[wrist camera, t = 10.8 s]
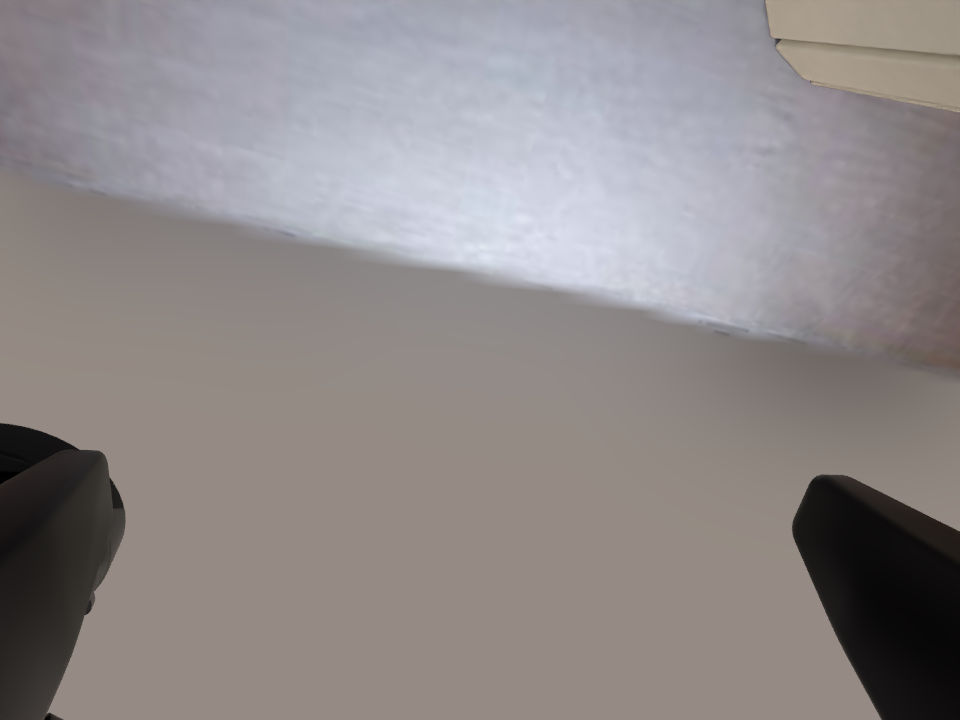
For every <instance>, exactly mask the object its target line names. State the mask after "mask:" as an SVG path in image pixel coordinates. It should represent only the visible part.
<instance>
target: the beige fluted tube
mask: <svg viewBox="0 0 960 720" xmlns="http://www.w3.org/2000/svg"><path fill="white" fill-rule="evenodd" d="M765 3H766V10H767V17H768V23H769V30H770V36H771V37H772V38H779V39H781V40H780V41H779V43H778V44H777V45H776V49H777V50H778V52H779V53H780V54H781V55H782V56H783V57H784V58H785V59H786V60H787V62H788V63H789V64H790V65H791V66H792V67H793V68H794V69H795V71H796V72H797V73H798V74H799V75H800V76H801V77H802V78H803V79H806V80H811V84H813V85H818V86H823V87H828V88H833V89H839V90H844V91H849V92H854V93H860V94H865V95H870V96H875V97H881V98H886V99H891V100H896V101H902V102H907V103H912V104H917V105H923V106H928V107H933V108H938V109H944V110H949V111H954V112H959V113H960V0H765Z"/></svg>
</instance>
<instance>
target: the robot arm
mask: <svg viewBox="0 0 960 720" xmlns="http://www.w3.org/2000/svg"><path fill="white" fill-rule="evenodd" d="M112 521H113V503H112V495H111V487H110V479H109V471H108V463H107V459H106V457H105V455H104V454H103V453H102V452H100V451H93V450H62V451H60V452H58V453H55V454H54V455H52V456H50V457H48V458H47V459H45V460H43V461H41V462H39V463H38V464H36V465H34V466H32V467H31V468H29V469H27V470H25V471H23V472H2V471H0V720H63V719H61V718H59V717H57V716H55V715H53V714H51V713H48V714H47V711H48V709H49V707H50V705H51V703H52V700H53V698H54V696H55V693H56V691H57V689H58V686H59V685H60V682H61V680H62V678H63V675H64V673H65V670H66V668H67V665H68V663H69V661H70V658H71V655H72V653H73V650H74V647H75V644H76V641H77V638H78V635H79V632H80V629H81V625H82V622H83V619H84V615H86V614H88V613H89V612H90V611H91V609H92V607H93V605H94V602H95V595H94V590H95V588H96V586H97V584H98V580H99V579H98V570H99V567H100V564H101V560H102V557H103V554H104V551H105V547H106V544H107V541H108V538H109V534H110V531H111V527H112ZM792 531H793V537H794V540H795V543H796V545H797V547H798V549H799V552H800V554H801V556H802V559H803V561H804V563H805V566H806V568H807V570H808V572H809V575H810V577H811V579H812V581H813V584H814V586H815V588H816V591H817V593H818V595H819V598H820V600H821V602H822V605H823V607H824V609H825V612H826V614H827V616H828V618H829V621H830V623H831V625H832V627H833V629H834V632H835V634H836V636H837V638H838V640H839V642H840V644H841V646H842V647H843V650H844V652H845V654H846V656H847V657H848V659H849V661H850V663H851V665H852V666H853V668H854V670H855V672H856V674H857V676H858V678H859V679H860V681H861V683H862V685H863V686H864V688H865V690H866V692H867V694H868V696H869V697H870V699H871V701H872V703H873V705H874V707H875V709H876V710H877V712H878V714H879V716H880V718H881V720H960V532H959V531H957V530H955V529H953V528H951V527H949V526H947V525H945V524H943V523H941V522H939V521H937V520H935V519H933V518H931V517H929V516H927V515H925V514H923V513H921V512H919V511H917V510H915V509H913V508H911V507H909V506H907V505H905V504H903V503H901V502H899V501H897V500H895V499H893V498H891V497H889V496H887V495H885V494H883V493H881V492H879V491H877V490H875V489H873V488H871V487H869V486H867V485H865V484H863V483H861V482H859V481H857V480H855V479H853V478H851V477H848V476H844V475H819V476H816V477H815V478H814V479H813V480H812V481H811V483H810V484H809V486H808V489H807V491H806V493H805V495H804V497H803V499H802V502H801V504H800V506H799V508H798V511H797V513H796V515H795V517H794V520H793V525H792Z"/></svg>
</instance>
